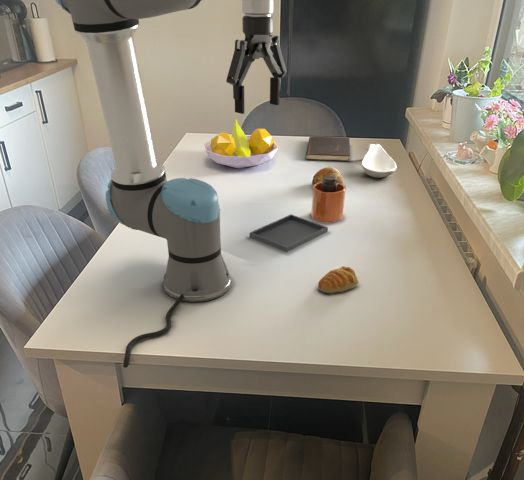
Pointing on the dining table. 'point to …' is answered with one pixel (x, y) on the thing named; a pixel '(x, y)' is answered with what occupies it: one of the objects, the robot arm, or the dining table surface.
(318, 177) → the bread roll
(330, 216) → the pot
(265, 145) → the fruit bowl
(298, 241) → the tray
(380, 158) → the spoon rest
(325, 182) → the pepper mill
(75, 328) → the dining table surface
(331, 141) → the hardcover book
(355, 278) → the pastry
